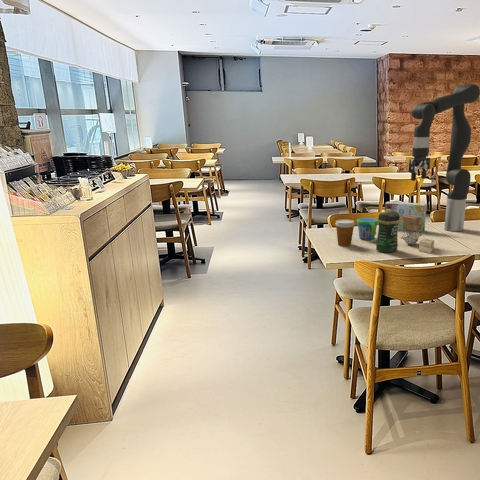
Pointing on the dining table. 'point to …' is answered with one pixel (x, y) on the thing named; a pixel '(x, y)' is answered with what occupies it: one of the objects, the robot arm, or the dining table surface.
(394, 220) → the coffee jar
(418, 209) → the snack box
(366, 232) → the snack cup
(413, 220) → the walnut block
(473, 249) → the dining table surface
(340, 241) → the disposable coffee cup
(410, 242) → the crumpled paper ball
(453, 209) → the robot arm
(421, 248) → the maple block
